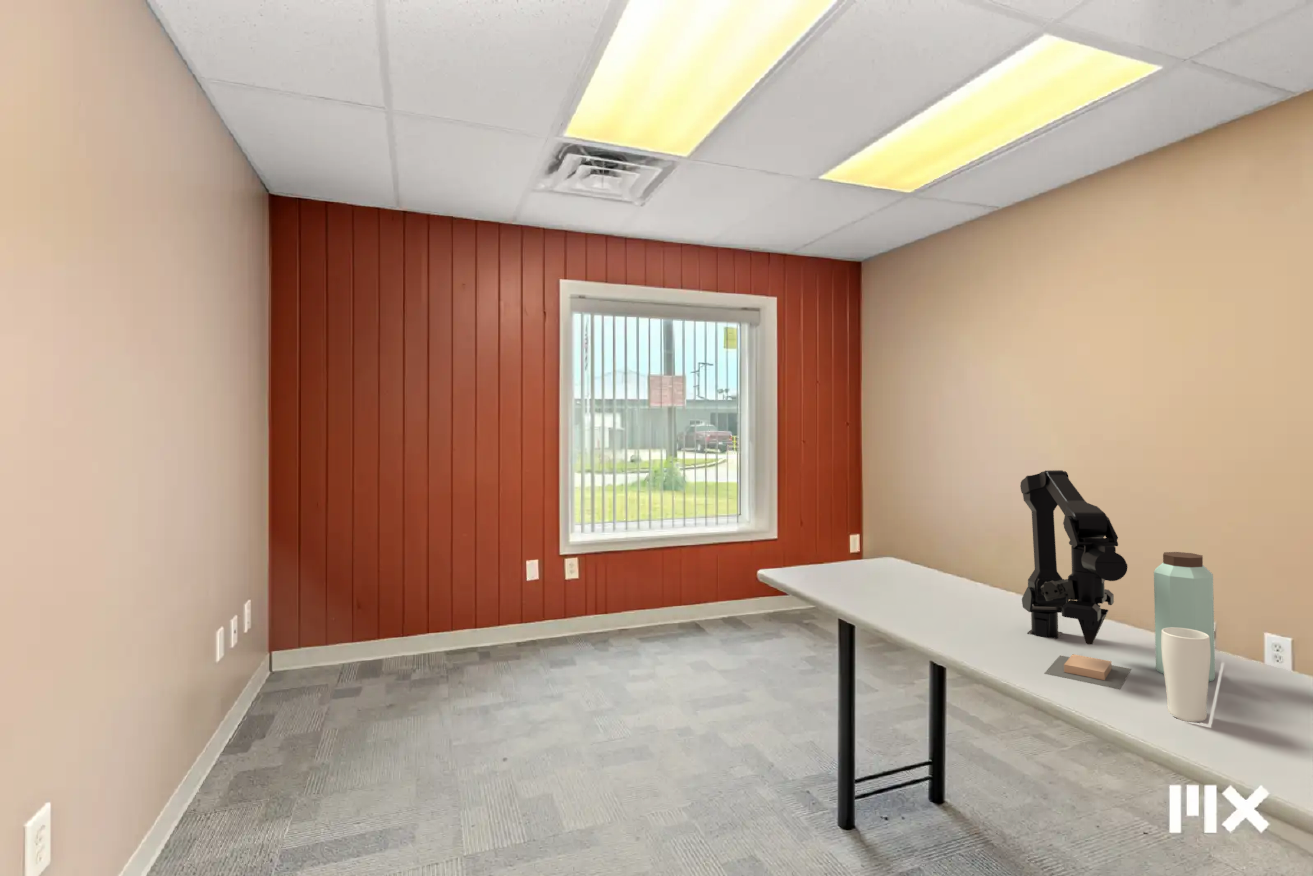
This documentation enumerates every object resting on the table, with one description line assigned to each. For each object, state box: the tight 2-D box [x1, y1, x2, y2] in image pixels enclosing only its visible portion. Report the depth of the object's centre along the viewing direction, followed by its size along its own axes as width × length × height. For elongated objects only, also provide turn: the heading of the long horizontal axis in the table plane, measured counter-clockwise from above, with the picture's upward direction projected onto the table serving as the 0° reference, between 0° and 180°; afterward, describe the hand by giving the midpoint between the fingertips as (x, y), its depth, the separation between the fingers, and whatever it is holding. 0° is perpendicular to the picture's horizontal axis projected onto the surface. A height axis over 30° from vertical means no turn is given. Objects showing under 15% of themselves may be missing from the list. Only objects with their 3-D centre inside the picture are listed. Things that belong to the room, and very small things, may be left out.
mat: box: [1043, 654, 1132, 690], centre depth 136 cm, size 14×13×1 cm
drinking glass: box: [1161, 627, 1211, 723], centre depth 115 cm, size 7×7×15 cm
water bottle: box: [1153, 551, 1216, 682], centre depth 133 cm, size 10×10×25 cm
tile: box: [1064, 653, 1113, 680], centre depth 136 cm, size 2×7×8 cm
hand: (1089, 643), depth 137 cm, fingers closed
